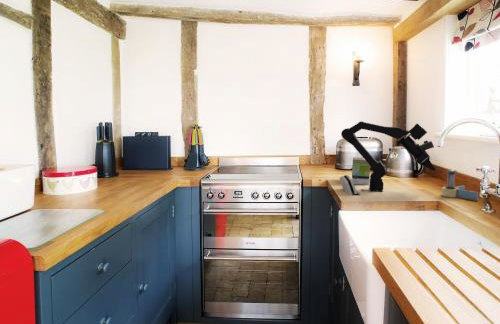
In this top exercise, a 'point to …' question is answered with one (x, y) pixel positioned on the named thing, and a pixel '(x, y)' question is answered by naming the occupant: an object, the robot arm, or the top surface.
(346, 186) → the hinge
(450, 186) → the pin
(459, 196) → the hinge barrel
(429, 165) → the robot arm
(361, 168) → the tea box
